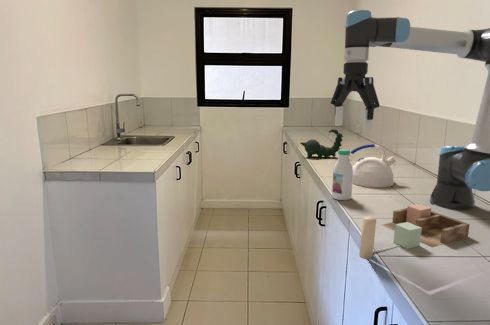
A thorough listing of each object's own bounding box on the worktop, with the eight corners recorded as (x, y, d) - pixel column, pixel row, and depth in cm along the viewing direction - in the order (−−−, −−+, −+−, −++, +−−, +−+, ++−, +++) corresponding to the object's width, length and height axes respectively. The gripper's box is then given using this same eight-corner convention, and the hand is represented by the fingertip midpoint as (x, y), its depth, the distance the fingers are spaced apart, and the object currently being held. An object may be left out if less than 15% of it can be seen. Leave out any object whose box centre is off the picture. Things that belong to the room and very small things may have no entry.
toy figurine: (338, 158, 238) (298, 154, 240) (342, 129, 233) (302, 125, 236) (339, 162, 229) (298, 157, 231) (344, 131, 224) (302, 126, 227)
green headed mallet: (404, 243, 113) (409, 208, 111) (419, 249, 109) (423, 213, 107) (354, 253, 105) (358, 216, 103) (367, 261, 100) (371, 222, 98)
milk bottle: (348, 194, 158) (350, 148, 154) (353, 200, 151) (356, 151, 147) (329, 195, 158) (332, 148, 154) (334, 201, 151) (337, 151, 146)
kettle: (398, 189, 167) (401, 148, 163) (349, 186, 171) (352, 147, 167) (390, 177, 186) (393, 141, 182) (347, 175, 190) (349, 140, 186)
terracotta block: (416, 220, 128) (418, 203, 127) (429, 225, 124) (431, 208, 122) (406, 222, 126) (407, 205, 124) (418, 228, 121) (420, 210, 120)
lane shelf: (415, 218, 131) (416, 205, 130) (467, 238, 115) (469, 224, 114) (381, 226, 124) (382, 213, 123) (432, 249, 108) (433, 234, 107)
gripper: (322, 63, 131) (319, 124, 135) (376, 60, 109) (371, 132, 114) (339, 63, 134) (336, 123, 139) (395, 60, 112) (389, 131, 117)
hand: (352, 127), depth 126 cm, fingers open, 13 cm apart
